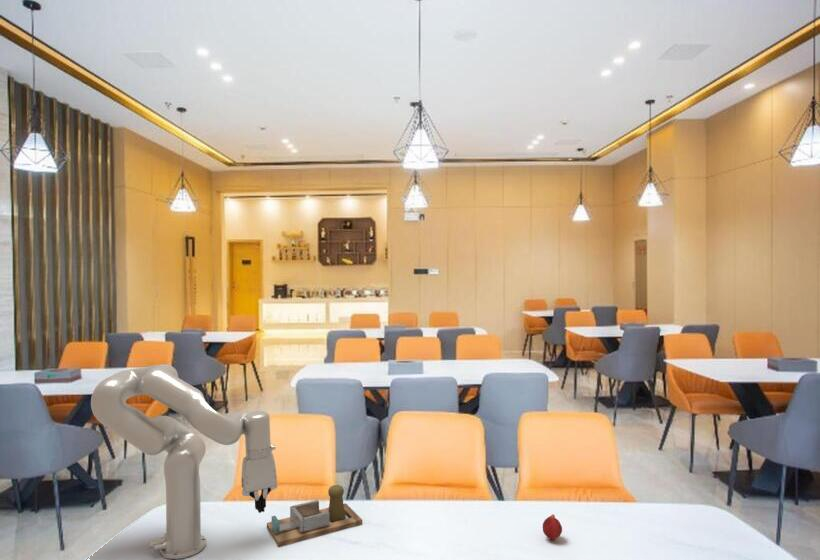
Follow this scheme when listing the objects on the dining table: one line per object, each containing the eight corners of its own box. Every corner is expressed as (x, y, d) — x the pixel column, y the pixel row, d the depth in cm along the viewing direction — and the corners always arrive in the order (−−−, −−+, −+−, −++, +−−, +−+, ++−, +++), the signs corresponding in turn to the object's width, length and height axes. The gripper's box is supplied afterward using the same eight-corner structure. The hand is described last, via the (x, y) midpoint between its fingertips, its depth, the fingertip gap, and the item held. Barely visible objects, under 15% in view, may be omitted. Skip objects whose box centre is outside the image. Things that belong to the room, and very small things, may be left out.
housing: (278, 538, 155) (278, 525, 155) (269, 523, 165) (269, 511, 165) (329, 525, 164) (329, 512, 164) (317, 511, 173) (317, 499, 173)
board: (278, 547, 154) (278, 542, 154) (266, 527, 166) (266, 522, 166) (362, 524, 168) (362, 519, 168) (345, 507, 180) (345, 503, 180)
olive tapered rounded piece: (347, 515, 173) (347, 483, 173) (342, 523, 167) (342, 490, 167) (330, 514, 174) (330, 482, 174) (325, 522, 168) (324, 489, 168)
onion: (548, 546, 154) (548, 519, 154) (539, 536, 160) (539, 511, 160) (565, 543, 156) (565, 517, 156) (555, 534, 161) (555, 509, 161)
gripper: (278, 444, 164) (281, 500, 165) (231, 453, 157) (233, 512, 157) (285, 450, 158) (287, 508, 158) (235, 461, 150) (238, 522, 151)
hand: (260, 510), depth 158 cm, fingers closed
